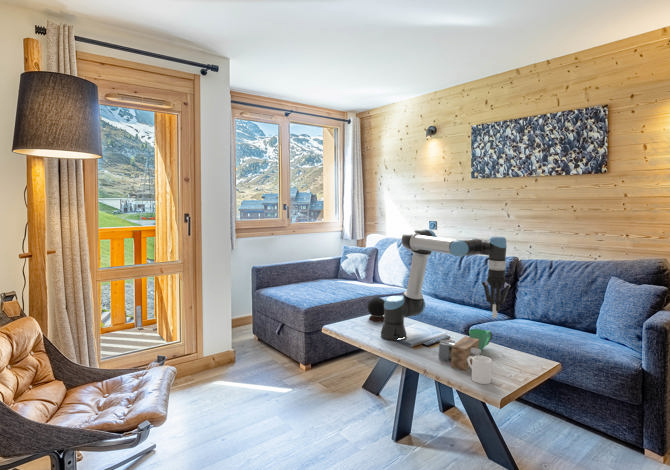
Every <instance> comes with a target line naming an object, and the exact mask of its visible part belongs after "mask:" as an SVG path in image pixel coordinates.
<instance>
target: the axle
mask: <svg viewBox="0 0 670 470" xmlns="http://www.w3.org/2000/svg"><path fill="white" fill-rule="evenodd" d="M439 343H444V344H448V345H450V350H452V345H454V344H455V343H456V342H455V343H452V342H448V341H444V340H442V339H441V340H440V341H439ZM471 355H474V356H482V351H481V349H477V348H473V347H471Z"/></svg>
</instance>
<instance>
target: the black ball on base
mask: <svg viewBox="0 0 670 470" xmlns="http://www.w3.org/2000/svg"><path fill="white" fill-rule="evenodd" d="M384 303H385V299H383V298H381V297H374V298H372V299H370V300H369V302H368V304H367V311H368V313H369V314H370V316H369V317H368V319H369V321H371V322H373V323H374V322H375V323H382V322H383V323H384Z"/></svg>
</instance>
